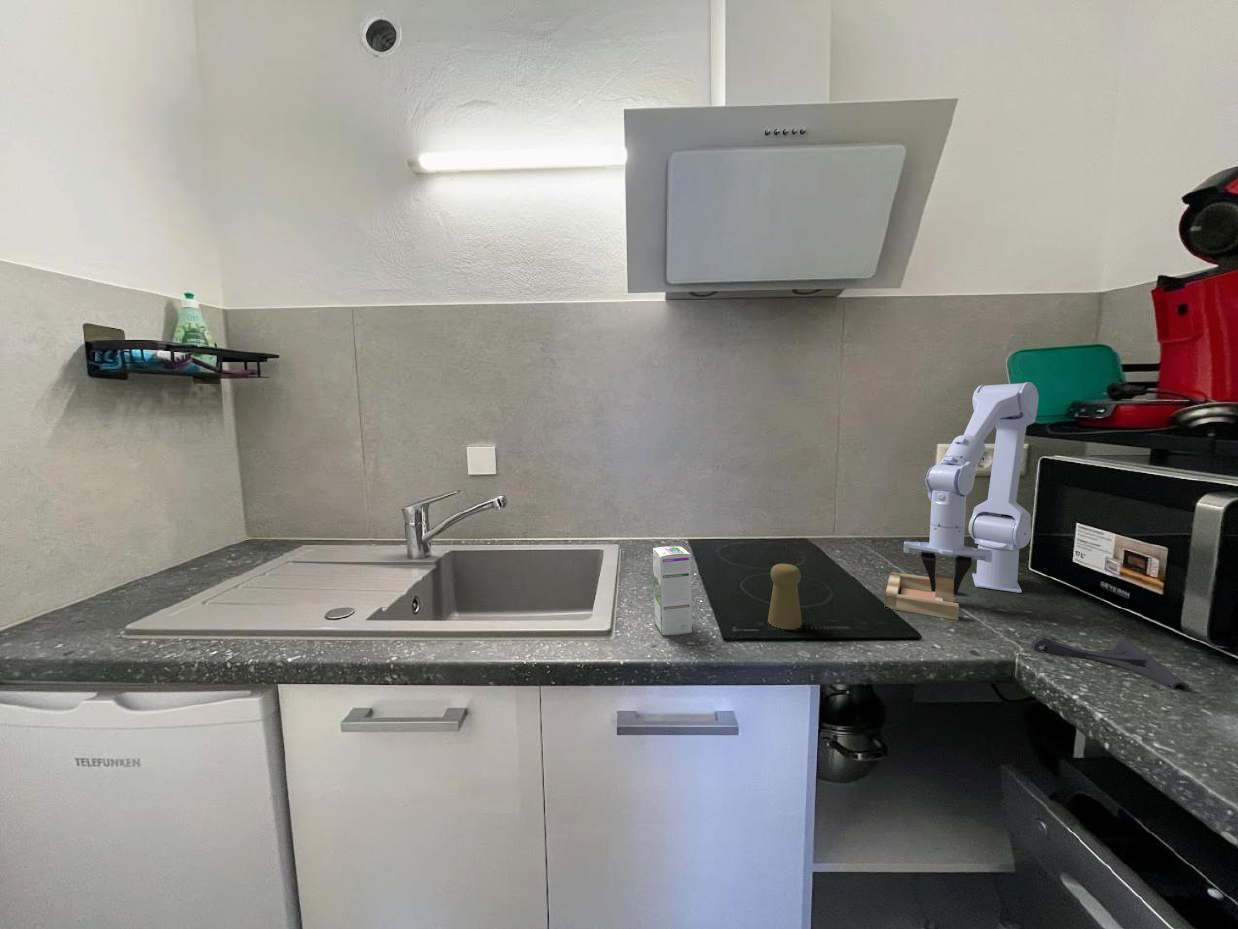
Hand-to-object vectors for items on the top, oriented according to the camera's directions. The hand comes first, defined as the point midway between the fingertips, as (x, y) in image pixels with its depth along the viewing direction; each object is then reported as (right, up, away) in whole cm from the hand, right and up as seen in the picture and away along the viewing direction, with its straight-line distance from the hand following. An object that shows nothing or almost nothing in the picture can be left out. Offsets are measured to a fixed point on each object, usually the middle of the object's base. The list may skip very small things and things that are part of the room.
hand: (944, 591), depth 99 cm
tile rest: (-4, -2, +3) cm, 5 cm away
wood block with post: (-1, -2, +1) cm, 3 cm away
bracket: (+8, -5, -22) cm, 25 cm away
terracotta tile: (-4, -3, +3) cm, 5 cm away
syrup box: (-56, -4, -10) cm, 57 cm away
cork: (-35, -4, -8) cm, 36 cm away
